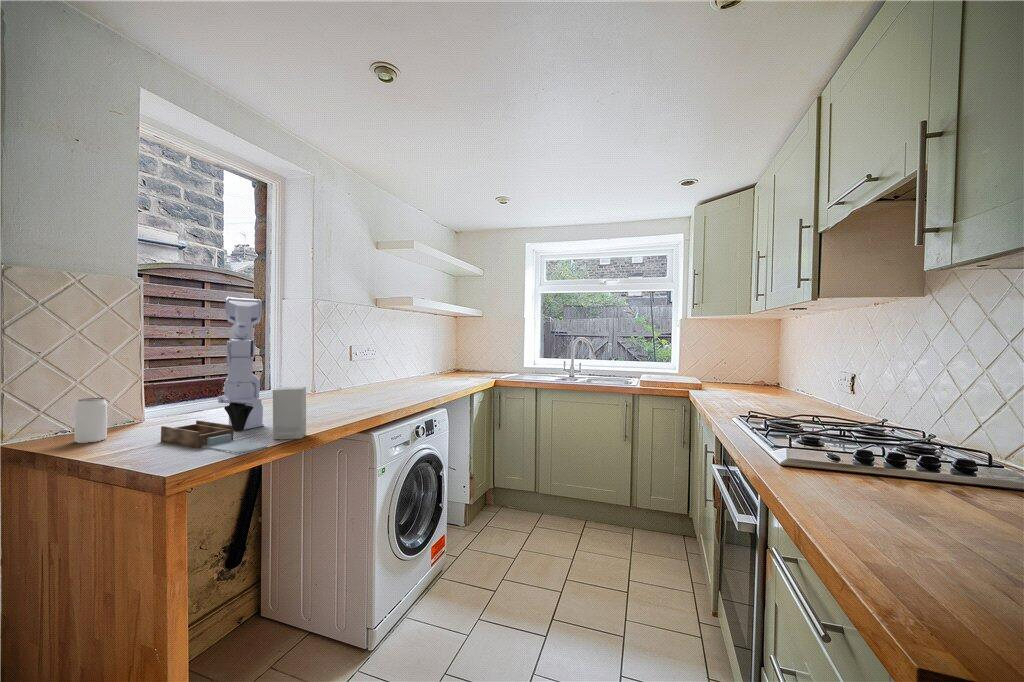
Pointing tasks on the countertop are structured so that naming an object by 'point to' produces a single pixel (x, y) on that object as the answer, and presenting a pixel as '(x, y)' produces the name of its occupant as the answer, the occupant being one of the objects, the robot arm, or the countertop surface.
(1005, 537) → the countertop surface
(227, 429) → the walnut box
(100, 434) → the can
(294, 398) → the skincare box
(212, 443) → the cover plate
